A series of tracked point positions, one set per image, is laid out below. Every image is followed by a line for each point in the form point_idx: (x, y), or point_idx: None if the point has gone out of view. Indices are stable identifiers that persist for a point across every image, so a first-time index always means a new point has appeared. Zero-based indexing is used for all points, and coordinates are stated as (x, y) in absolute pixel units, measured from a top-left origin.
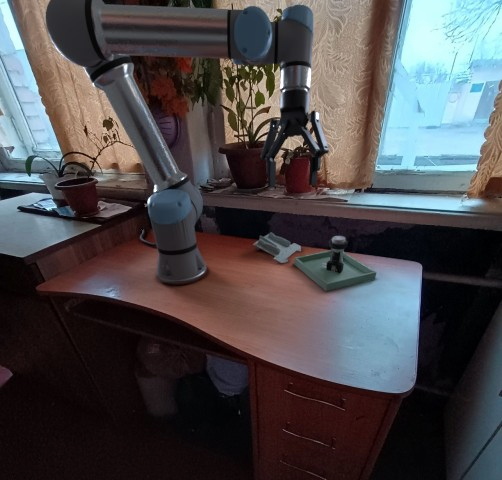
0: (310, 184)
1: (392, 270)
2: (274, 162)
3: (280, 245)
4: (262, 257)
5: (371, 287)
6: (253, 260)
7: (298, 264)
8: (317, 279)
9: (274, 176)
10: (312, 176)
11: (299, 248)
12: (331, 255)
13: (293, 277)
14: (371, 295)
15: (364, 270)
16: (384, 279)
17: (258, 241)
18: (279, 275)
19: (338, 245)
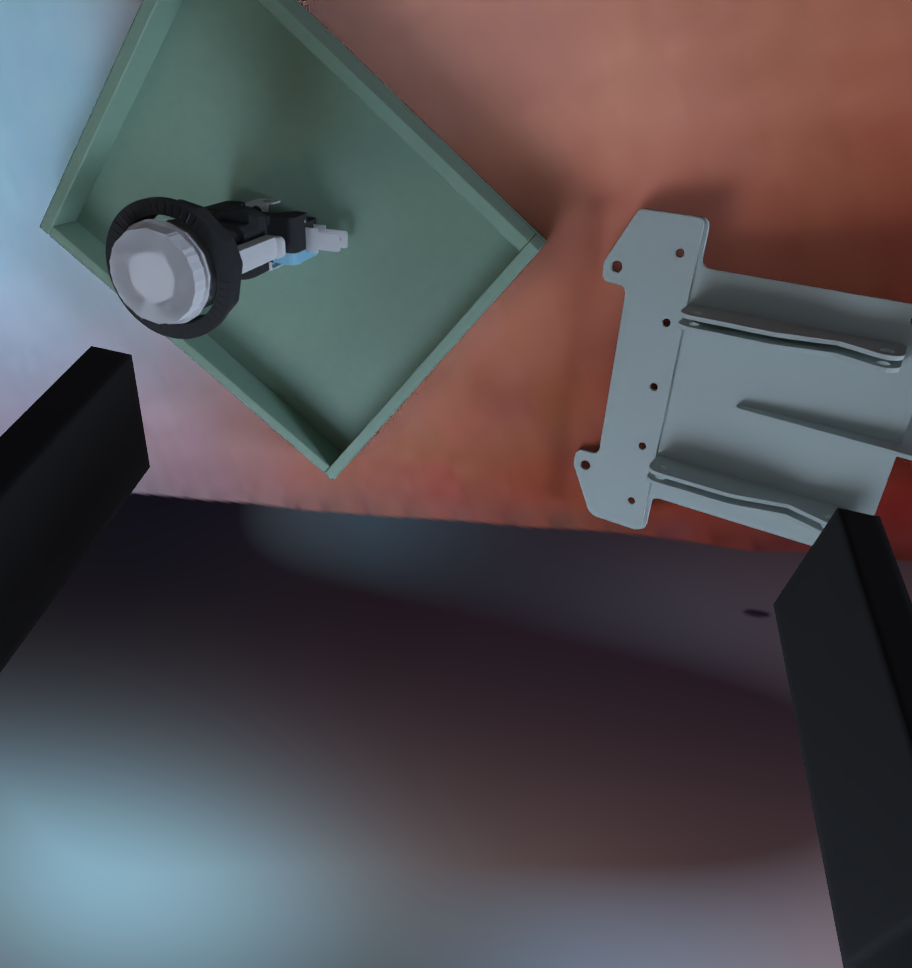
0: (102, 352)
1: (50, 359)
2: (867, 927)
3: (718, 443)
4: (827, 276)
5: (44, 110)
6: (891, 193)
7: (495, 199)
8: (291, 5)
9: (812, 700)
10: (31, 425)
11: (590, 485)
12: (253, 242)
13: (479, 27)
14: (4, 6)
15: None
16: (36, 238)
17: (901, 351)
18: (587, 10)
19: (139, 200)
